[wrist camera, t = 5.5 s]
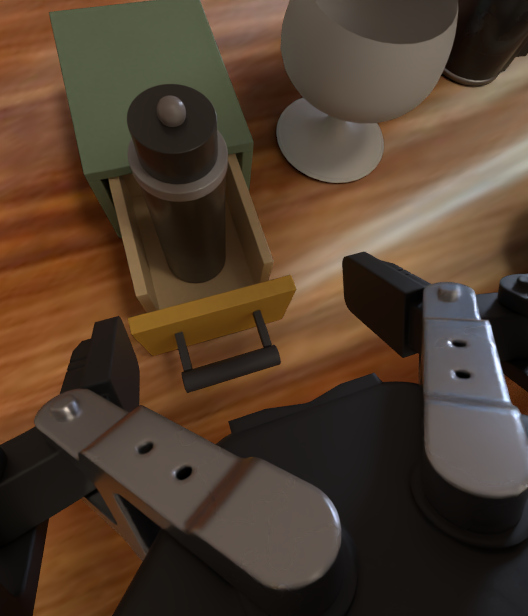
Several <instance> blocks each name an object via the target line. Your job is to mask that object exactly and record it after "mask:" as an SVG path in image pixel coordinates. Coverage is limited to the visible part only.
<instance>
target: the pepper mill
mask: <svg viewBox="0 0 528 616" xmlns="http://www.w3.org/2000/svg"><path fill="white" fill-rule="evenodd" d="M127 125H128V128H129V131H130V135H131V140H130V143H129V146H128V161H129V165H130V167H131V170H132V173H133V175H134V177H135V179H136V181H137V182H138V183H139V185H140V187H141V190H142V193H143V196H144V199H145V201H146V204H147V207H148V210H149V213H150V216H151V218H152V221H153V224H154V227H155V230H156V233H157V235H158V238H159V241H160V244H161V247H162V250H163V252H164V255H165V258H166V261H167V264H168V267H169V269H170V270H171V272H172V273H173V274H174V275H175V276H176V277H177V278H179V279H180V280H182V281H185V282H188V283H204V282H207V281H209V280H211V279H213V278H215V277H216V276H217V275H218V274H219V273H220V272H221V270H222V269H223V267H224V264H225V260H226V218H225V174H226V171H227V167H228V150H227V146H226V143H225V140H224V138H223V137H222V135H221V133H220V132H219V131H218V130H217V115H216V111H215V109H214V106H213V105H212V103H211V102H210V100H209V99H208V98H207V97H206V96H205V95H204V94H202V93H201V92H199V91H197V90H196V89H193V88H191V87H188V86H185V85H180V84H162V85H157V86H154V87H151V88H148V89H146V90H145V91H143V92H141V93H140V94H139V95H138V96H137V97H136V98H135V99H134V100H133V101H132V102H131V104H130V106H129V109H128V112H127Z"/></svg>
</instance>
